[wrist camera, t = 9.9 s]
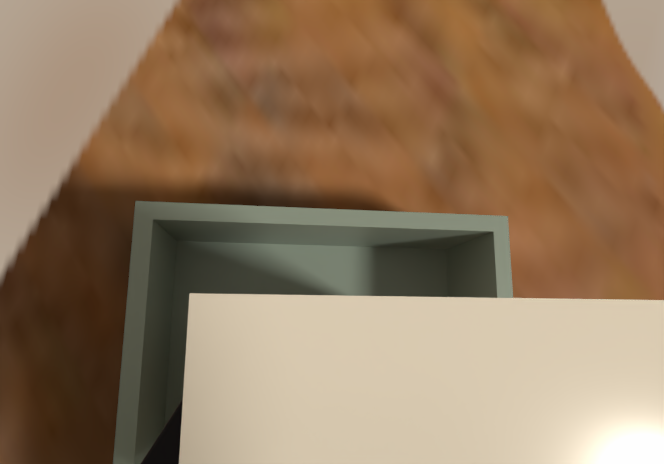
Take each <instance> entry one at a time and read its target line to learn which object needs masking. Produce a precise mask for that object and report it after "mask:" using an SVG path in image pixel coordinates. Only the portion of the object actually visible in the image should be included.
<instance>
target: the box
mask: <svg viewBox="0 0 664 464" xmlns="http://www.w3.org/2000/svg"><path fill="white" fill-rule="evenodd" d="M189 293H202V294H270V295H339V296H407V297H475V298H513V290H512V275H511V259H510V243H509V227H508V216H492V215H467V214H443V213H418V212H394V211H370V210H345V209H321V208H297V207H272V206H248V205H223V204H199V203H175V202H150V201H135V211H134V223H133V235H132V246H131V258H130V270H129V281H128V293H127V305H126V316H125V328H124V340H123V351H122V363H121V375H120V386H119V398H118V410H117V421H116V433H115V445H114V456H113V464H141V462H142V461H143V459H144V458H145V456H146V454H147V453H148V451H149V450H150V448H151V447H152V445H153V444H154V442H155V441H156V439H157V437H158V436H159V434H160V433H161V431H162V430H163V428H164V427H165V425H166V423H167V422H168V420H169V419H170V417H171V416H172V414H173V413H174V411H175V409H176V408H177V406H178V405H179V403H180V402H181V400H182V399H183V388H184V372H185V356H186V341H187V325H188V309H189Z"/></svg>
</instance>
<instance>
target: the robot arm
mask: <svg viewBox="0 0 664 464" xmlns="http://www.w3.org/2000/svg"><path fill="white" fill-rule="evenodd" d="M182 404H183V399H182V400H181V402H180V403H179V405H178V406H177V408H176V409H175V411H174V413H173V414H172V416H171V417H170V419H169V420H168V422H167V423H166V425H165V427H164V428H163V430H162V431H161V433H160V434H159V436H158V437H157V439H156V441H155V442H154V444H153V445H152V447H151V448H150V450H149V451H148V453H147V454H146V456H145V458H144V459H143V461H142V462H141V464H179V452H180V436H181V420H182Z"/></svg>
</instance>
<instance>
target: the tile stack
mask: <svg viewBox="0 0 664 464" xmlns="http://www.w3.org/2000/svg"><path fill="white" fill-rule="evenodd" d="M179 464H664V300H612V299H544V298H475V297H407V296H339V295H270V294H202V293H189V309H188V325H187V341H186V356H185V372H184V388H183V404H182V420H181V436H180V452H179Z"/></svg>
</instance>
